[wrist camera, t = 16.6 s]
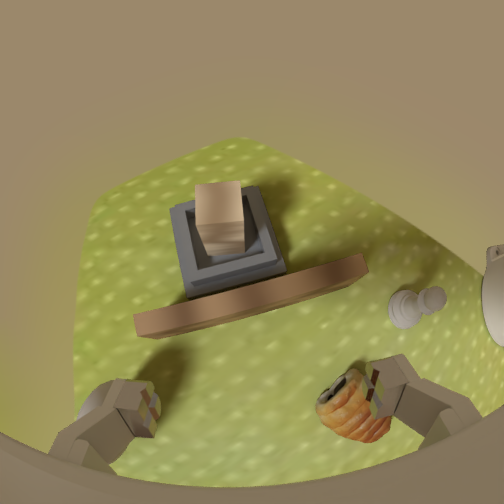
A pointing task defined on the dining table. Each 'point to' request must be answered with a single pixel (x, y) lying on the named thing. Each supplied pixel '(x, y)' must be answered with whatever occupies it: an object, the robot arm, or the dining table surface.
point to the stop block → (220, 217)
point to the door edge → (250, 299)
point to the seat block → (233, 265)
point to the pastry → (350, 410)
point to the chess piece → (415, 305)
